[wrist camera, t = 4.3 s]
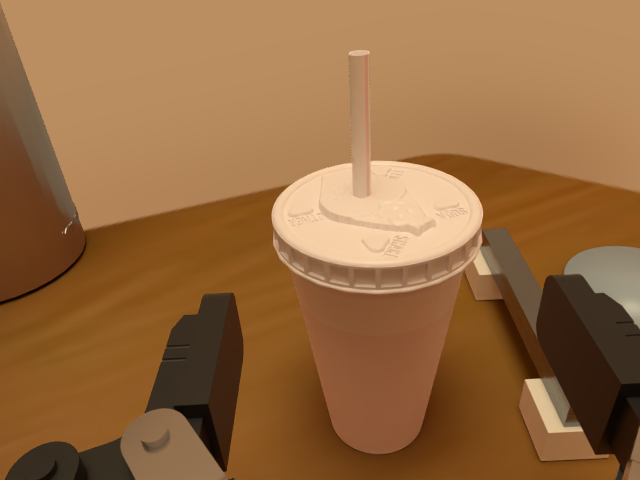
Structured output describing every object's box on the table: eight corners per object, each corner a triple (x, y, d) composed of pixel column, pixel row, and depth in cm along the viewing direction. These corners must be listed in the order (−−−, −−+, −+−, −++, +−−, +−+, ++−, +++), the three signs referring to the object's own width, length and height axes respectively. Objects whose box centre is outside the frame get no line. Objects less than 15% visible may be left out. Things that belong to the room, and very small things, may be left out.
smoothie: (374, 334, 25) (372, 20, 17) (492, 415, 21) (557, 48, 13) (265, 411, 22) (202, 64, 14) (379, 526, 17) (378, 119, 10)
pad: (634, 358, 23) (636, 351, 22) (534, 268, 28) (535, 262, 28) (761, 319, 24) (764, 313, 24) (642, 241, 30) (644, 235, 30)
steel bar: (598, 425, 18) (606, 402, 18) (563, 427, 18) (570, 404, 18) (502, 247, 27) (505, 228, 27) (479, 249, 27) (482, 229, 27)
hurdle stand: (607, 457, 19) (619, 429, 18) (540, 460, 19) (548, 432, 18) (509, 269, 28) (513, 244, 28) (464, 271, 29) (467, 247, 28)
